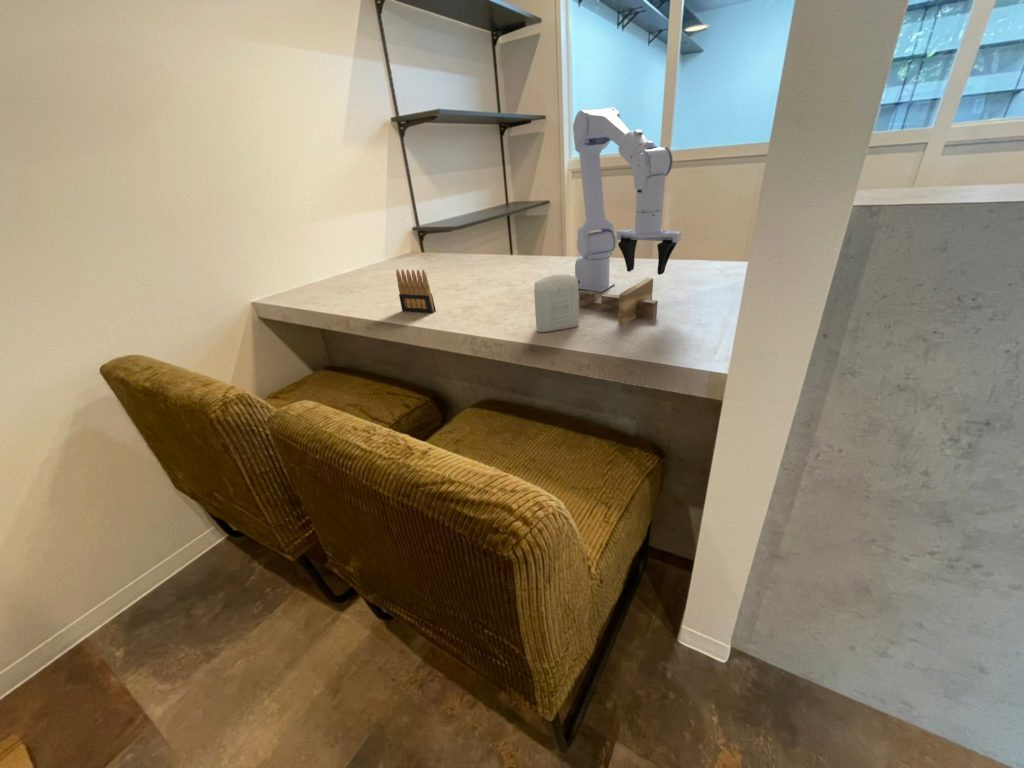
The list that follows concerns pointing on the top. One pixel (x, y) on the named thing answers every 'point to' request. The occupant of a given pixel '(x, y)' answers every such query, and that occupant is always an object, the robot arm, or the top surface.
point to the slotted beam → (616, 304)
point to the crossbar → (633, 299)
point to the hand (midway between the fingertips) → (645, 272)
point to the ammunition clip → (415, 292)
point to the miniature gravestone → (556, 303)
